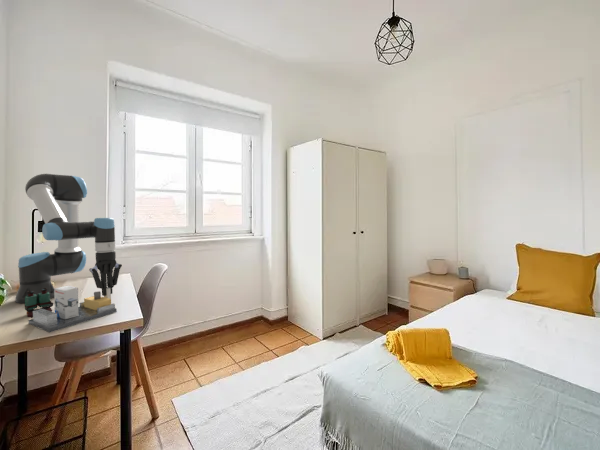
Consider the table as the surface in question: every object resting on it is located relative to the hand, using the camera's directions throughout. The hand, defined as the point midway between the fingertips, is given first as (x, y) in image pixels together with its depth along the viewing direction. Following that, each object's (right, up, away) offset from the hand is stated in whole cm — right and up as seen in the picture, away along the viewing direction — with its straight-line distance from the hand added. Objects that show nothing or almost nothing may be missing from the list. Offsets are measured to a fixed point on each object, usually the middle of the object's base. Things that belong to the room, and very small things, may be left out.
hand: (107, 301), depth 127 cm
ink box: (-7, -2, -14) cm, 16 cm away
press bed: (-6, -3, -11) cm, 13 cm away
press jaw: (-2, -1, -4) cm, 4 cm away
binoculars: (-25, -4, -7) cm, 26 cm away
